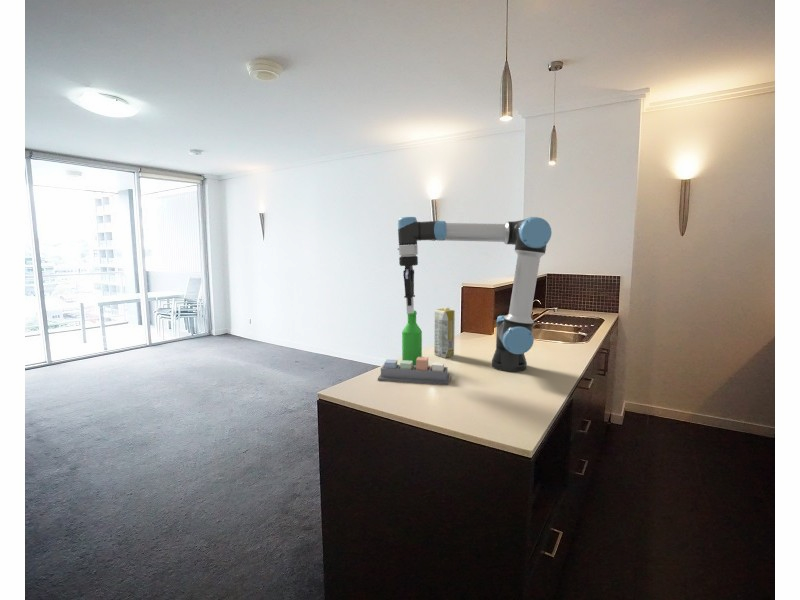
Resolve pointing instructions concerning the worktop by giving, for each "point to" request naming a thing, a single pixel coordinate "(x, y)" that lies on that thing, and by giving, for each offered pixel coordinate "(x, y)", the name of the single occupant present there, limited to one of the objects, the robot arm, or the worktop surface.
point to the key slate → (391, 364)
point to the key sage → (406, 364)
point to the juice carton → (444, 332)
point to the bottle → (411, 339)
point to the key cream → (438, 366)
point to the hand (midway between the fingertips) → (410, 312)
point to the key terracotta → (422, 363)
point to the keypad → (414, 375)
